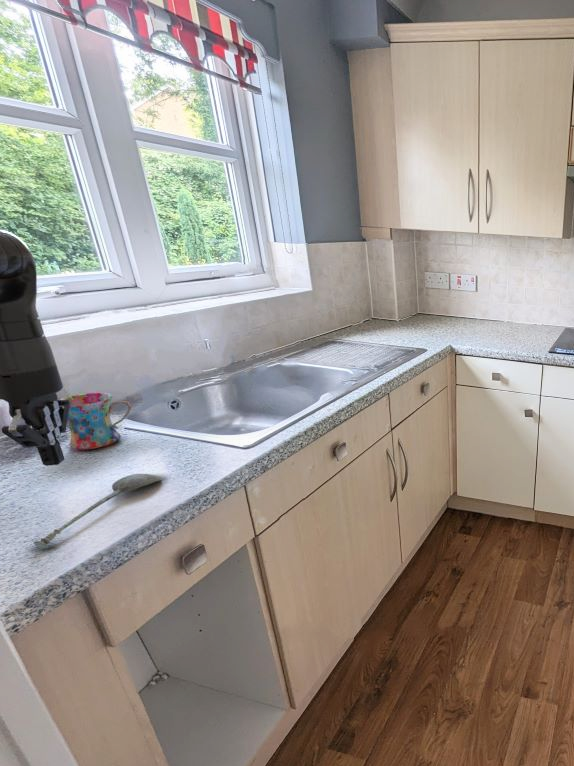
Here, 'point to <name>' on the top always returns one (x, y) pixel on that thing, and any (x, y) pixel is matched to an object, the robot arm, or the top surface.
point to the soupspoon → (118, 487)
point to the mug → (92, 420)
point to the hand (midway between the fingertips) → (54, 463)
